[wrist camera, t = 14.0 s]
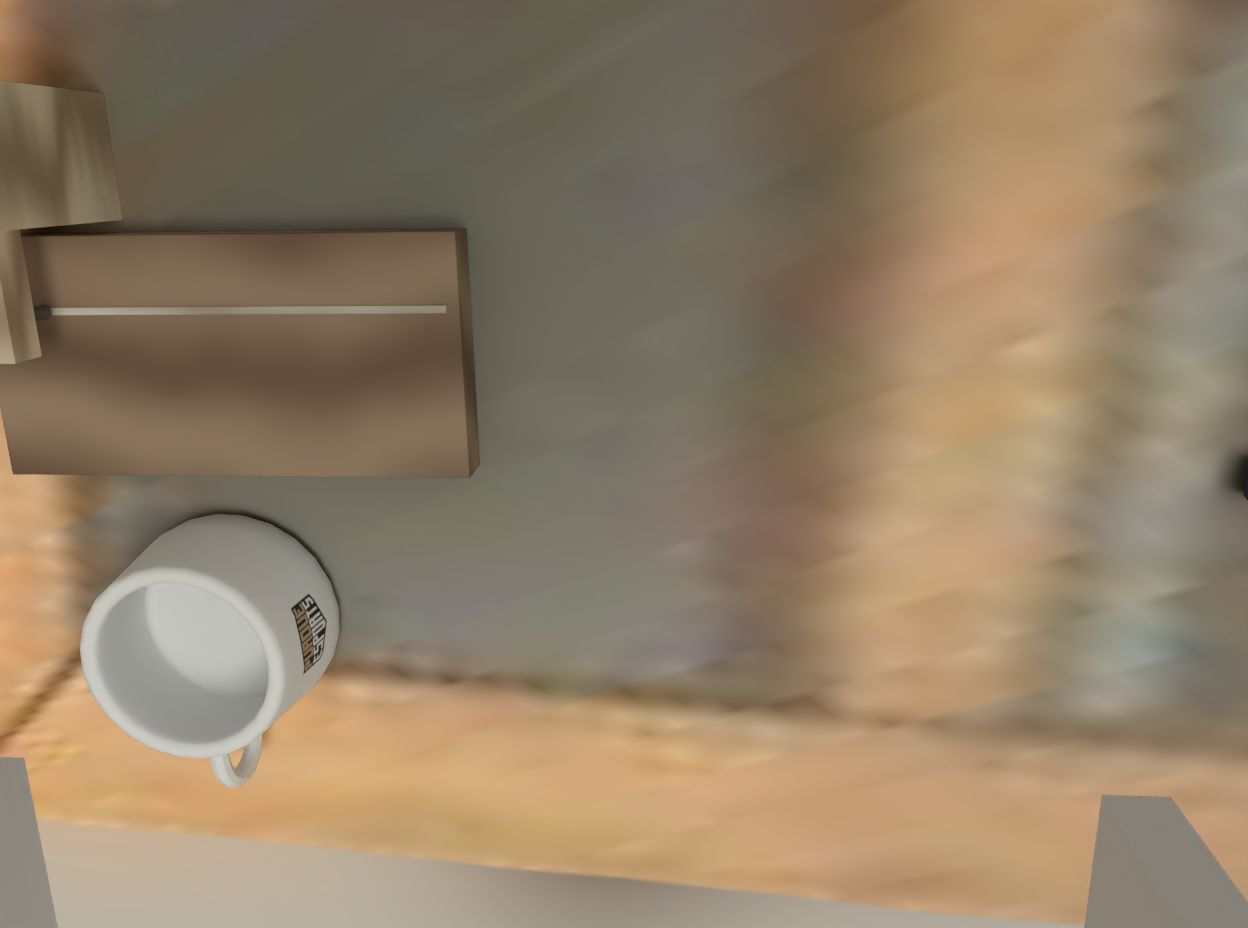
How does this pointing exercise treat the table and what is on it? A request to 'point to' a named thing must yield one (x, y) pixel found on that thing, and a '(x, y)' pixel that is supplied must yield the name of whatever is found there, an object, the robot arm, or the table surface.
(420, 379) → the board
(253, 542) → the mug
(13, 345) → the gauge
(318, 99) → the table surface
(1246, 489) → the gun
